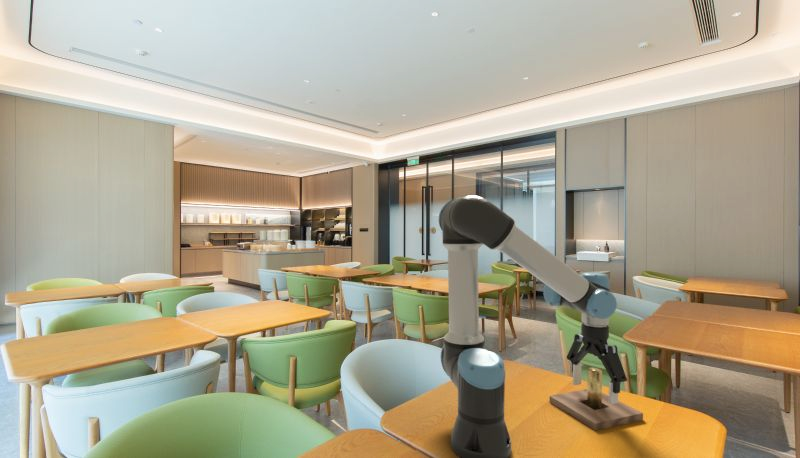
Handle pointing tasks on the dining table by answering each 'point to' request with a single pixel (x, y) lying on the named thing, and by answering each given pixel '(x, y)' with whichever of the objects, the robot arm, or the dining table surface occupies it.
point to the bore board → (593, 418)
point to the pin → (594, 388)
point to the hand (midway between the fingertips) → (594, 393)
